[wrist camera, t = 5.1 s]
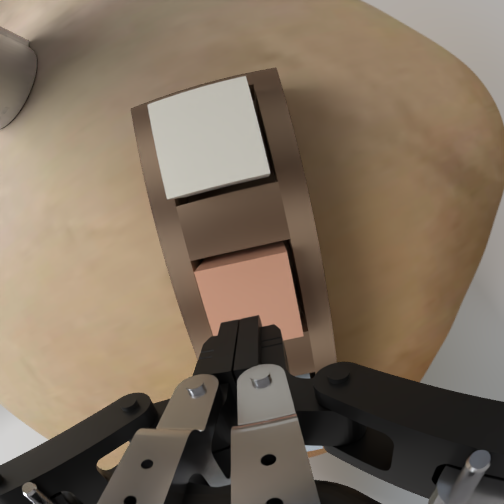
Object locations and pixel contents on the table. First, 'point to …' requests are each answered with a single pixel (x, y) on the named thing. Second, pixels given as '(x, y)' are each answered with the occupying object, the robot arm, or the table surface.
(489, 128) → the table surface
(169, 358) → the table surface
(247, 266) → the pink square block
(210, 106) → the cream button
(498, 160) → the table surface
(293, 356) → the button panel
